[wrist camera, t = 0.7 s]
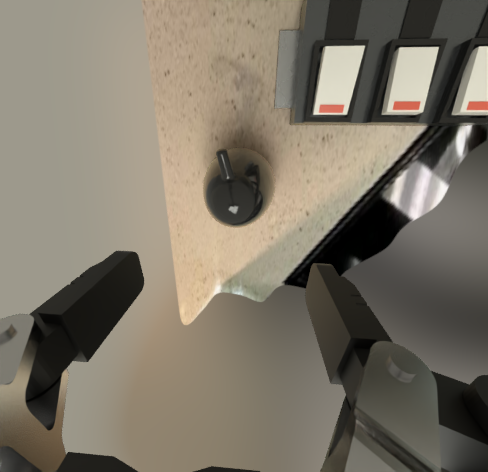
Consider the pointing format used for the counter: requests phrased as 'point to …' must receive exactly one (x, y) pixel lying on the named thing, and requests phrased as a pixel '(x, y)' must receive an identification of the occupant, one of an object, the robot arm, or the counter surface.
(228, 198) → the pump dispenser
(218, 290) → the counter surface
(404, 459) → the robot arm
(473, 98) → the rocker
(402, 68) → the middle rocker
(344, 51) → the rocker
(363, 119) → the rocker switch box
